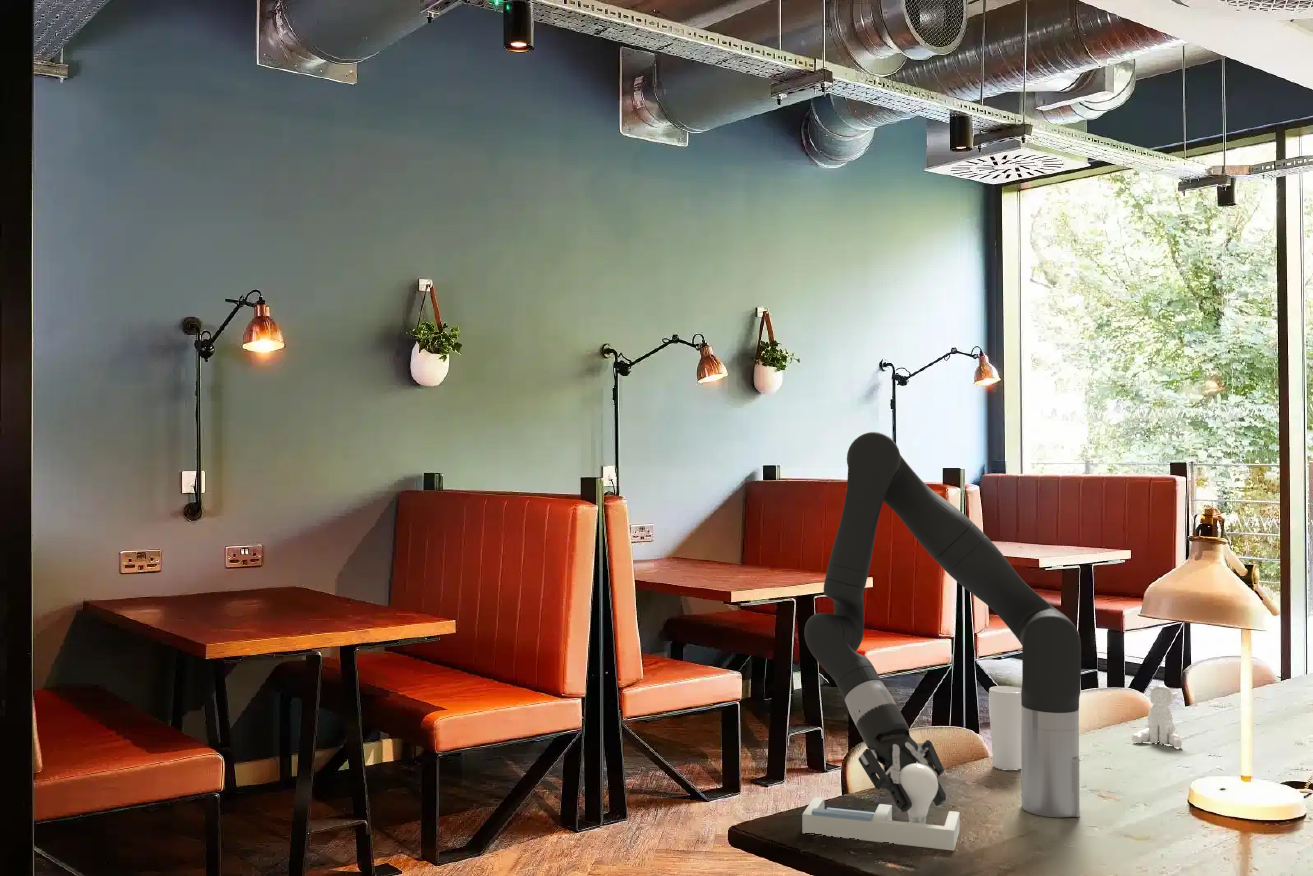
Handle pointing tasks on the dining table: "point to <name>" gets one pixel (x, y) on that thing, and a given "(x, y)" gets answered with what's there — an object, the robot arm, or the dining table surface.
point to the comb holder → (879, 826)
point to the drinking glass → (1005, 726)
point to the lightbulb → (918, 790)
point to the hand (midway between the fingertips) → (924, 806)
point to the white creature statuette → (1160, 719)
